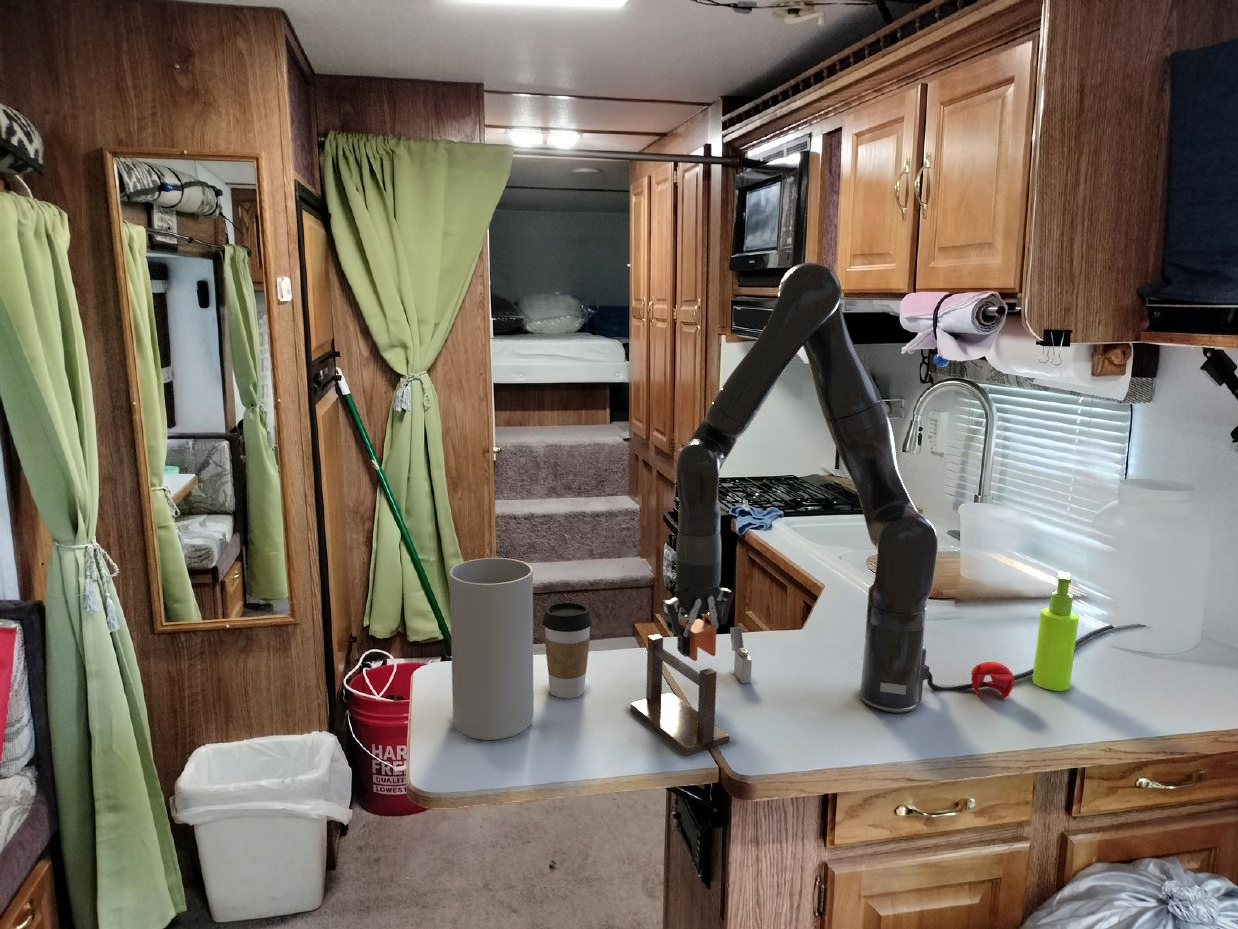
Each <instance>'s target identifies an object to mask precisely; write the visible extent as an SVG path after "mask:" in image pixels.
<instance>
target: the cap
mask: <svg viewBox="0 0 1238 929" xmlns="http://www.w3.org/2000/svg"><path fill="white" fill-rule="evenodd" d="M972 668H973V669H972V670H971V684H972V687H973V690H974V692H975V694H976V696H978V697H981V696H982V692H981V690H980V689H981V688H980V686H981V684H982V683H986V684H987V687H986V688H990V689H994V690H996V691H998V692H1000V698H1001V699H1002V700H1003V699H1006V698H1008V697H1010V694H1011V692H1012V690H1013V689H1014V685H1015V681H1014V674H1013V673H1012V671H1011V670H1010V669H1009V668H1008V667H1007V666H1006V665H1005V664H1002V663H1000V662H997V661H985V662H981V663H978V664H976V665H975V666H974V667H972ZM986 676H990V679H991V681H993V683H991V682H989V681H985V678H986Z"/></svg>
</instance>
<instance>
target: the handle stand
mask: <svg viewBox="0 0 1238 929" xmlns="http://www.w3.org/2000/svg"><path fill="white" fill-rule="evenodd" d="M646 649H647V651H646V652H647V654H646V655H647V656H646V657H647V658H646V693H645V695H646V696H645V699H642V700H638V701H634V702H630V711H632V712H633V713H634V714H635V715H636V716H637V717H639V718H640V719H641V720H642V721H643V722H645V724H647V725H649V727H650V728H651V729H653V730H654V731H656V733H658V734H659V735H660V736H661V737H663V738H664V739H665V740H666V741H668V742H669V744H671V745H673V746H674V748H676V749H677V750H678V751H679V752H681V753H682V754H683V755H684V756H686V757H687V756H691V755H693V754H697V753H700V752H703V751H707V750H711V749H713V748H717V747H719V746H722V745H726V744H729V743H730V738H731V736H730V734H728V733H727V732H726V731H724V730H723V729H722V728H721V727H720V726H718V725H717V724H715V723H716V722H715V721H716V697H717V677H718V676H717V674H718V673H717V671H716V670H714V669H712V668H711V667H709V668H705V669H702V670H699V671H697V670H695V669H694V668H693V667H691V666H690V665H688V664H686V663H685V662H683V660H681V659H679V658H678V657H676V656H674V655H673V654H672V653H670V652H668V651H667V650H666V649H664V637H663V636H662V635H661V634H659V633H657V634H652V635H648V636H647V648H646ZM663 662H664V663H665V664H667V665H668V666H669V667H671V668H672V669H674V670H675V671H677V672H678V673H679V674H681V675H683V676H684V677H685V678H687V679H688V680H689V681H691V682H692V683H694V684H696V685H697V686H698V700H697V702H698V703H697V710H696V709H695V708H693V707H692V706H690V705H689V704H688V703H686V702H685V701H684V700H682V699H681V698H680V697H678V696H677V695H676V694H674V693H673V692H668V693H664V694H662V693H663V692H662V691H663Z"/></svg>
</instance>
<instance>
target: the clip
mask: <svg viewBox="0 0 1238 929" xmlns="http://www.w3.org/2000/svg"><path fill="white" fill-rule="evenodd" d="M689 636H690V655H689V656H687V657H688V658H689V659H690V660H692V661H693V662H696V661H698V649H700V650H702V651H703V652H705V653H706V654H709V655H710V656H711V657H715V656H716V654H717V653H716V651H717V648H716V647H717V646H716V645H717V629H716V628H715V627H713V626H711V625H709V624H708V623H706V622H704V620H703V619H700V618H696V620H695V623H694V624H693V625H692V627H691V631H690V634H689Z"/></svg>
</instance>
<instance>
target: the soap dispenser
mask: <svg viewBox="0 0 1238 929" xmlns="http://www.w3.org/2000/svg"><path fill="white" fill-rule="evenodd" d="M1056 575H1057V587H1056V590H1054V591H1052V592H1051V593H1050V601H1049V607H1045V608H1042V609H1041V610H1040V615H1039V623H1038V632H1037V638H1036V639H1037V640H1036V648H1035V655H1034V656H1035V657H1034V664H1033V669H1034V672H1033V674H1032V682H1033V683H1034V684H1035V685H1037V686H1038V687H1040V688H1042V689H1046V690H1050V691H1054V692H1055V691H1056V692H1063V691H1068V690H1069V689H1070V687H1071V680H1072V679H1071V678H1072V671H1073V662H1074V656H1075V648H1076V647H1075V642H1076V641H1077V633H1078V627H1079V618H1080V617H1079V615H1078V614H1077V613H1075V612H1073V611H1072V610H1073V602H1074V601H1073V600H1074V596H1073V594H1071V593H1070V592H1069V587H1070V584H1071V583H1072V577H1071V573H1070V572H1067V571H1060V570H1059V571H1058V570H1057V572H1056Z"/></svg>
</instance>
